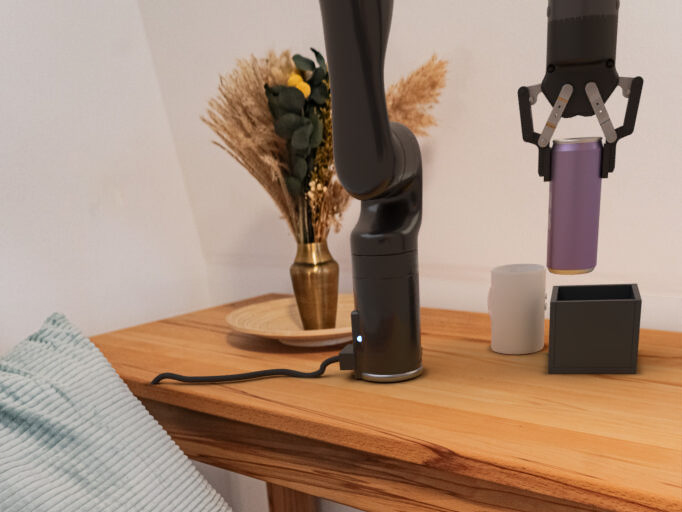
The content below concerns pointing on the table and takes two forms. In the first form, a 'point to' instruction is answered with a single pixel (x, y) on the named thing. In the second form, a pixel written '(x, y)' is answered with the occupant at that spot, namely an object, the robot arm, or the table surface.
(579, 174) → the beverage can
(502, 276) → the mug
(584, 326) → the waste bin
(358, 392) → the table surface
